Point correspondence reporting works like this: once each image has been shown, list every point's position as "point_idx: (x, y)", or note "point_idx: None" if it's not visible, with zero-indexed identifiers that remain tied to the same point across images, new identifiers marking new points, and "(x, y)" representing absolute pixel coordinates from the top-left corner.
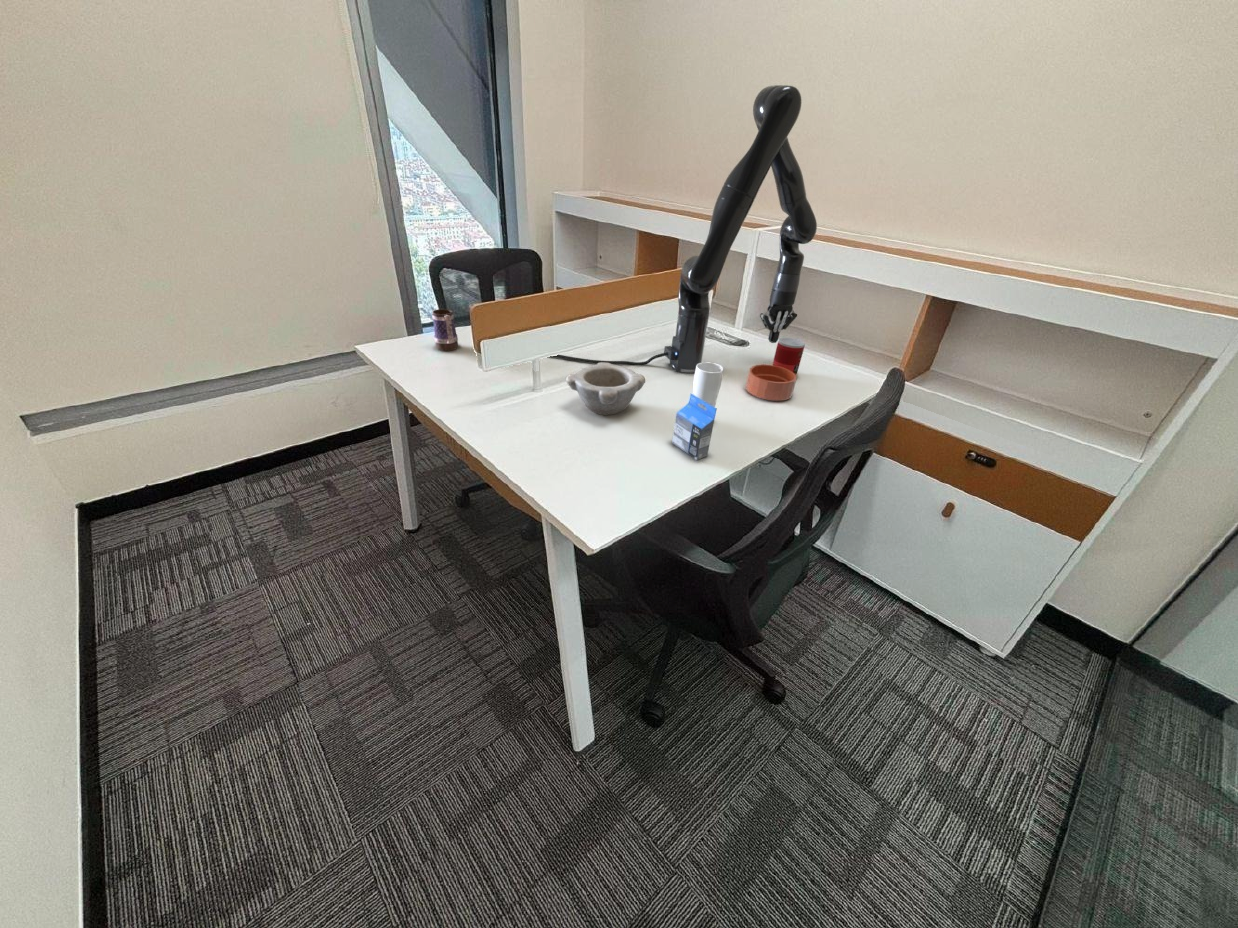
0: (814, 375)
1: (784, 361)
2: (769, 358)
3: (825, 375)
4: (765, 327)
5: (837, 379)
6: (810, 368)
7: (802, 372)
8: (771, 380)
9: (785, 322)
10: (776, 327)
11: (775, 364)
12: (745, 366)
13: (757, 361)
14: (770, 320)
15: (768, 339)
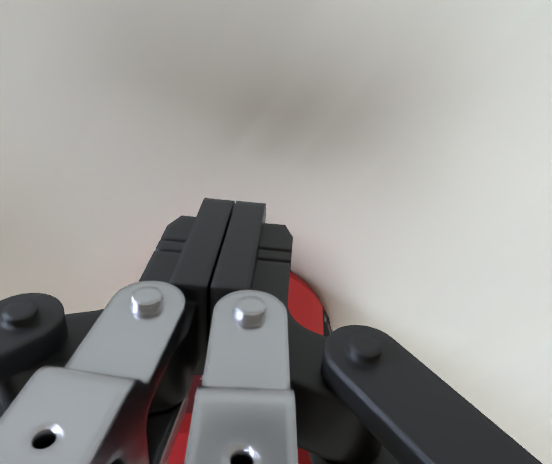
0: (456, 376)
1: None
2: (379, 15)
3: (528, 393)
4: (3, 305)
5: (542, 443)
6: (545, 294)
7: (418, 325)
8: None
9: (457, 435)
10: (151, 446)
11: None
12: (36, 124)
13: (205, 53)
14: (28, 410)
15: (177, 219)
